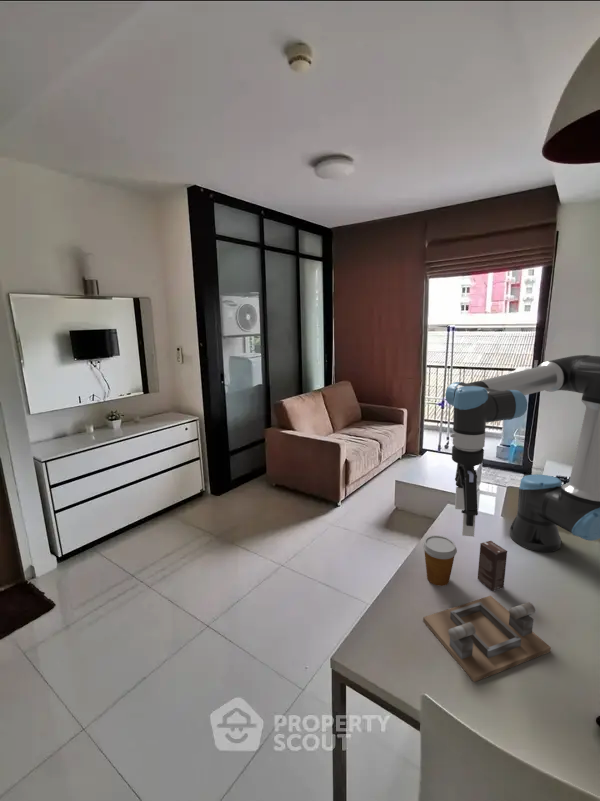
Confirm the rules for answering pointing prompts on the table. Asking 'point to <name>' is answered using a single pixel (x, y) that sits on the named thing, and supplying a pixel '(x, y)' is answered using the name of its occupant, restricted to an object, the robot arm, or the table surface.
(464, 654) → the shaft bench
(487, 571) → the box
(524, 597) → the table surface
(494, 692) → the table surface
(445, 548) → the disposable coffee cup
